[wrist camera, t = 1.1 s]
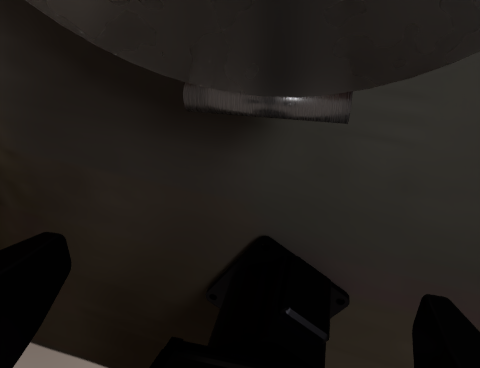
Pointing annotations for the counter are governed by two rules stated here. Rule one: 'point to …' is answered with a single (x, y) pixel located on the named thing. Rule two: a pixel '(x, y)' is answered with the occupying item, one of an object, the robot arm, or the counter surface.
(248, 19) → the lid
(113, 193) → the counter surface
